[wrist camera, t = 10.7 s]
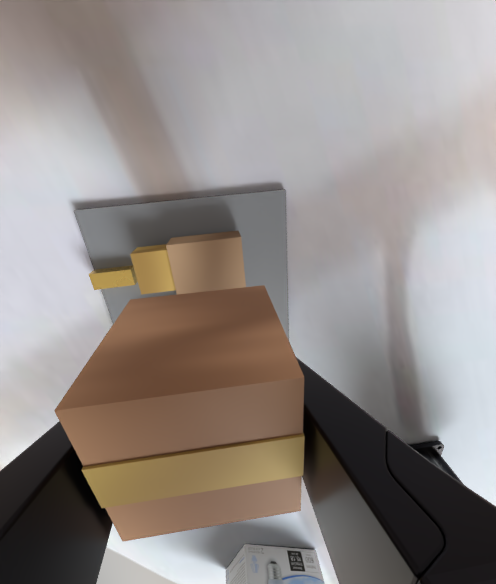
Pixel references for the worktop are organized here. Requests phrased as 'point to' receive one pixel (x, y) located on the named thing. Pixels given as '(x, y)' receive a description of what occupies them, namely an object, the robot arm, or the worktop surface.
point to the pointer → (113, 277)
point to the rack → (191, 264)
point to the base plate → (186, 222)
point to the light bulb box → (274, 566)
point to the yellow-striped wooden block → (190, 414)
